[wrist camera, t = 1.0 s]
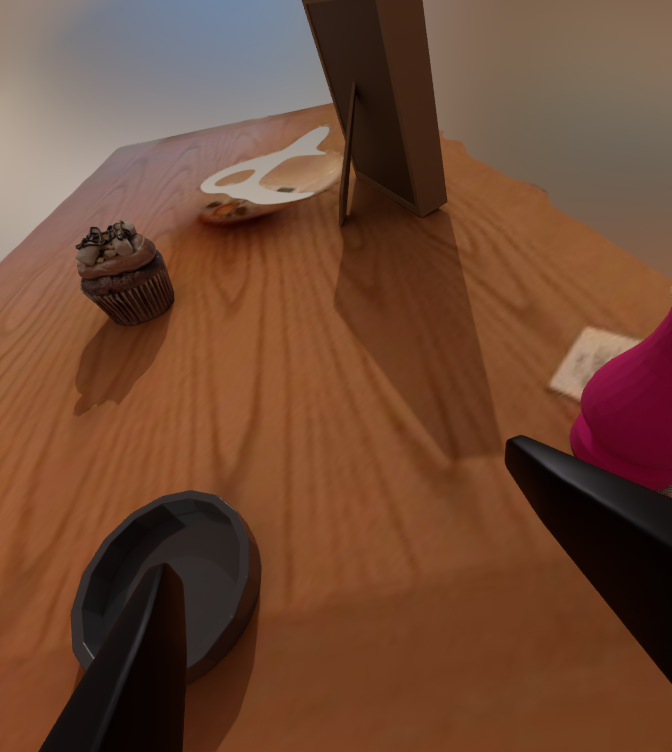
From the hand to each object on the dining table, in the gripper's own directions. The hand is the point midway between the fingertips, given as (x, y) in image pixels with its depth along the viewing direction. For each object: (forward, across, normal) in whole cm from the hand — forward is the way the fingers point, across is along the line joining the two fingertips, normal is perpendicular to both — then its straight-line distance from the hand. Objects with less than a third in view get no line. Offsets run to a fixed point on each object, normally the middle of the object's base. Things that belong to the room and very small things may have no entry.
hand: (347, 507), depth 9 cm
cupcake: (+43, +16, +6) cm, 46 cm away
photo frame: (+56, -19, +3) cm, 59 cm away
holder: (+9, +11, +14) cm, 20 cm away
